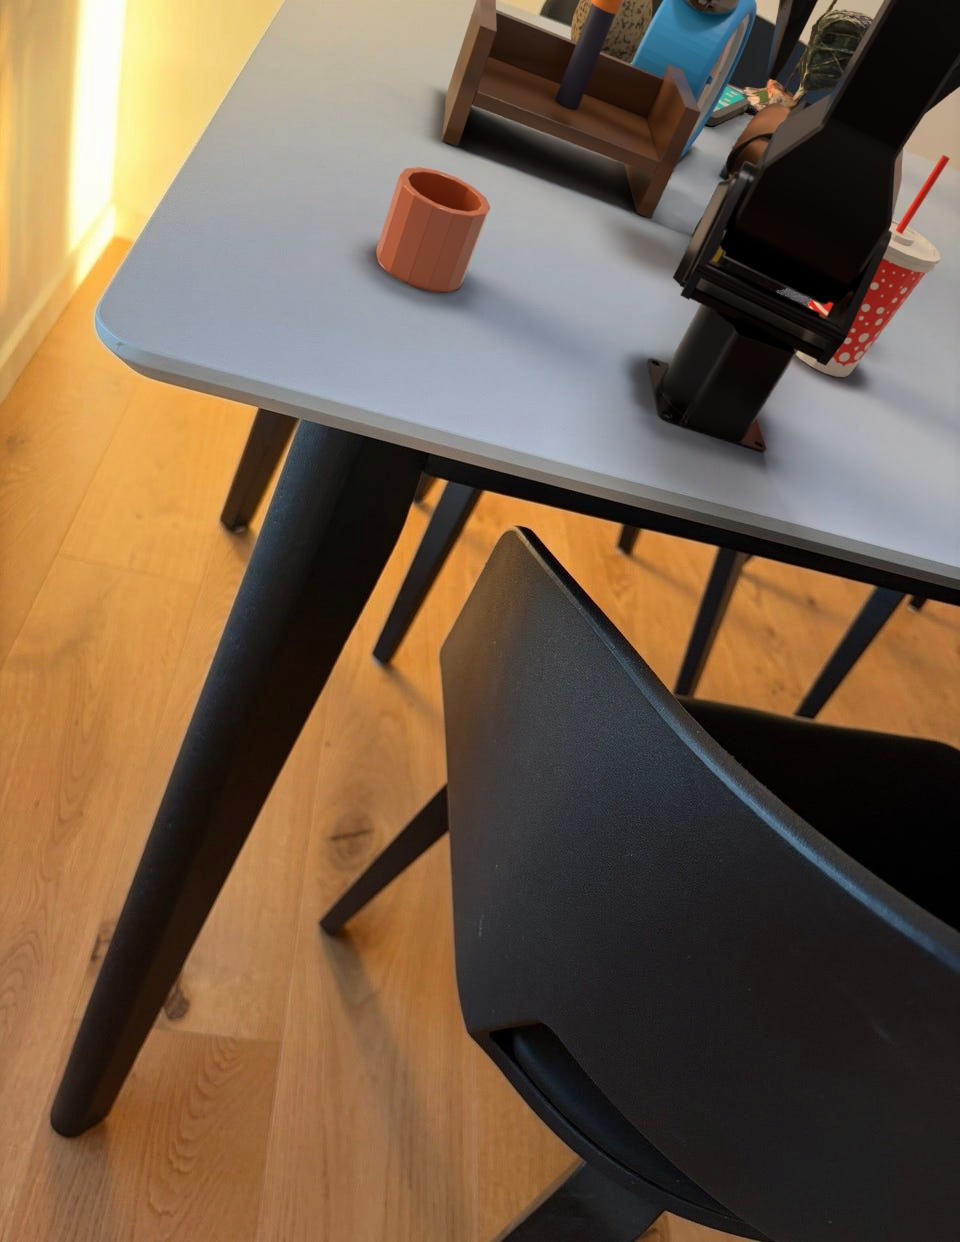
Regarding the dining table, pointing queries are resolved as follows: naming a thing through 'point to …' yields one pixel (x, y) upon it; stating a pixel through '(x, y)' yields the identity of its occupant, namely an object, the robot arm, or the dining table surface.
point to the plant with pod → (818, 58)
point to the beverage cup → (884, 287)
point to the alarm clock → (698, 47)
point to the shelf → (608, 112)
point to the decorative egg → (619, 27)
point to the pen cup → (431, 229)
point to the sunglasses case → (755, 137)
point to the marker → (587, 52)
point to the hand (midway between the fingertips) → (834, 104)
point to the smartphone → (728, 106)
